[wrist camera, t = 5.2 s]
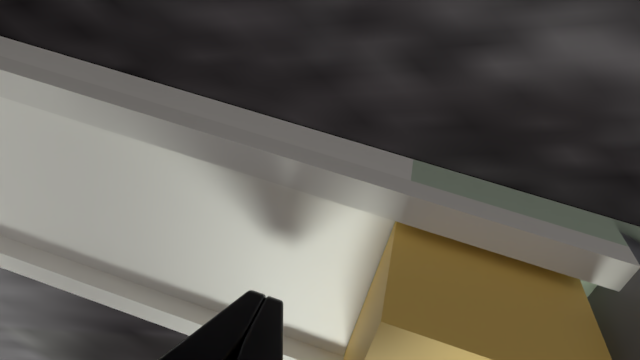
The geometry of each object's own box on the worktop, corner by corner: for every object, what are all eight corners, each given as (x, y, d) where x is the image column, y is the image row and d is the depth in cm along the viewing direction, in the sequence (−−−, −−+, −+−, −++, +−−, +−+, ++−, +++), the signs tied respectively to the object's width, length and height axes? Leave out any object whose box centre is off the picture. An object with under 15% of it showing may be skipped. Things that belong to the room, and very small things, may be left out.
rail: (530, 408, 13) (557, 547, 10) (18, 228, 15) (-89, 302, 12) (682, 239, 9) (797, 384, 6) (-35, 25, 11) (-210, 59, 8)
